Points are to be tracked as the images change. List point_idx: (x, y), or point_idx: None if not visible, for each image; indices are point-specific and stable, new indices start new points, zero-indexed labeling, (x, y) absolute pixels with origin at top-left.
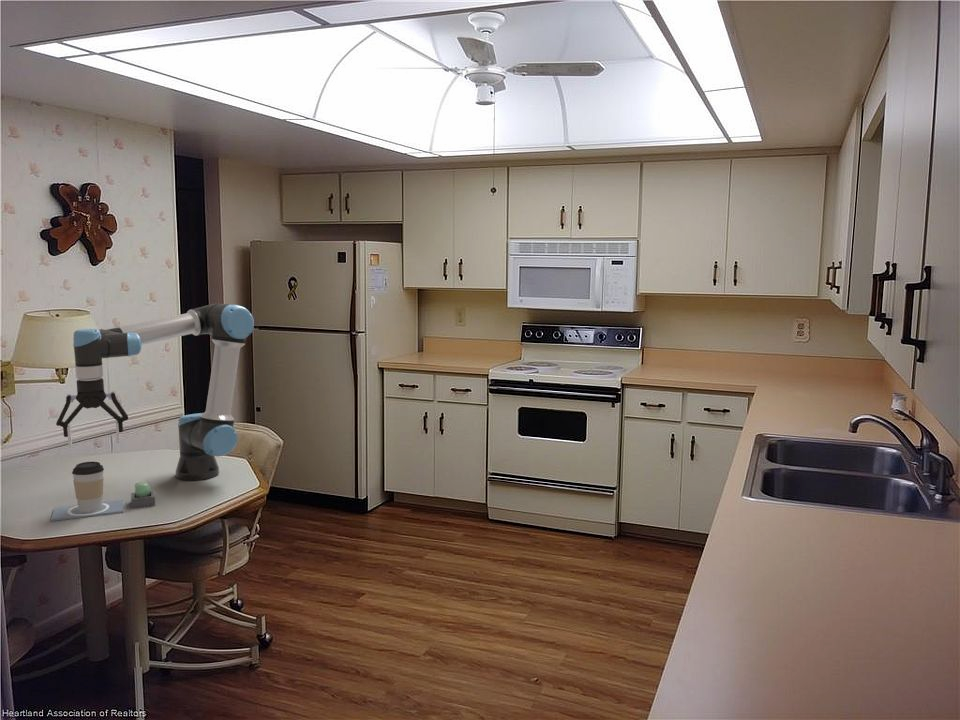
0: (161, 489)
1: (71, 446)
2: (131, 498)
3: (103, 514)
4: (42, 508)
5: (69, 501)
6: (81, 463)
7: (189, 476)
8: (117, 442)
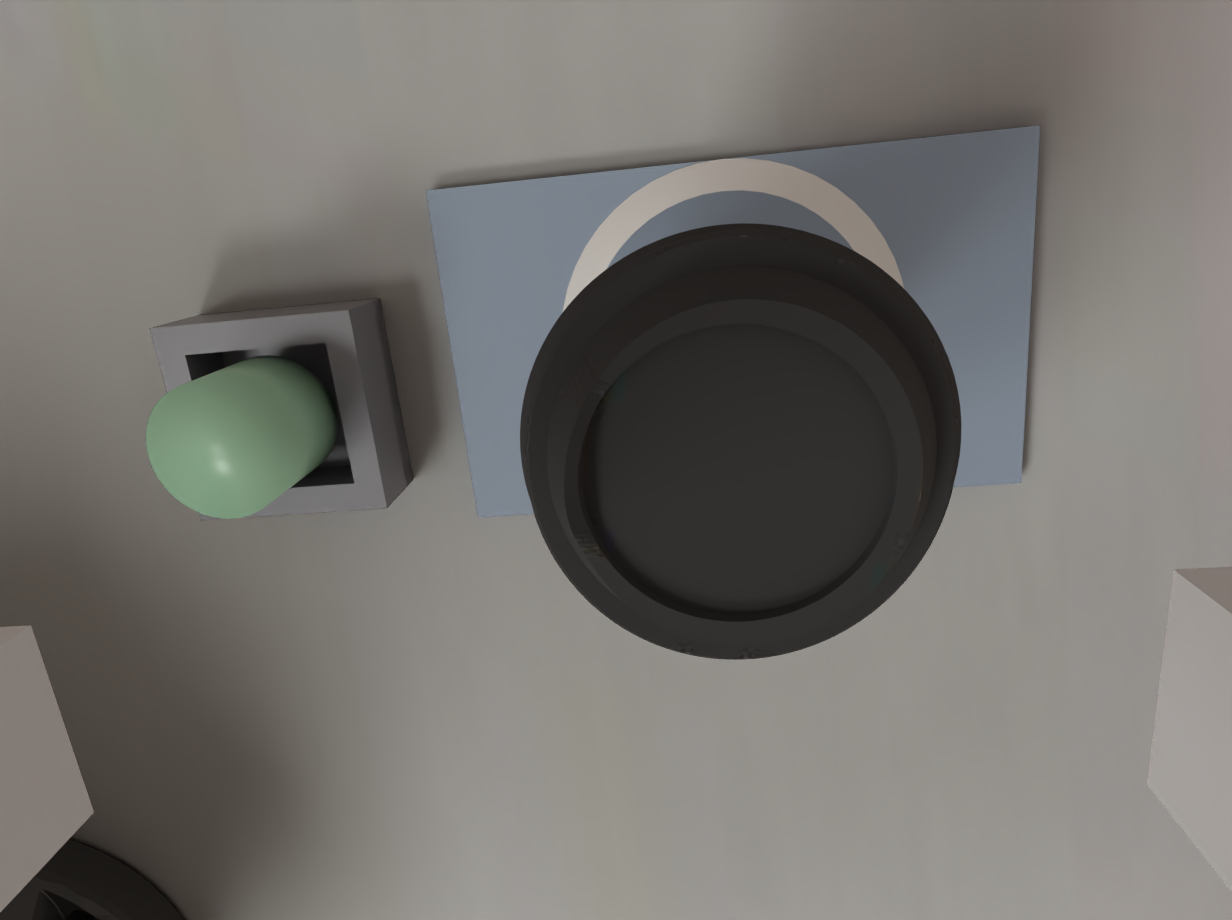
0: (242, 713)
1: (1185, 602)
2: (350, 335)
3: (589, 173)
4: (1112, 533)
5: (906, 645)
6: (846, 579)
7: (55, 866)
8: (3, 636)
